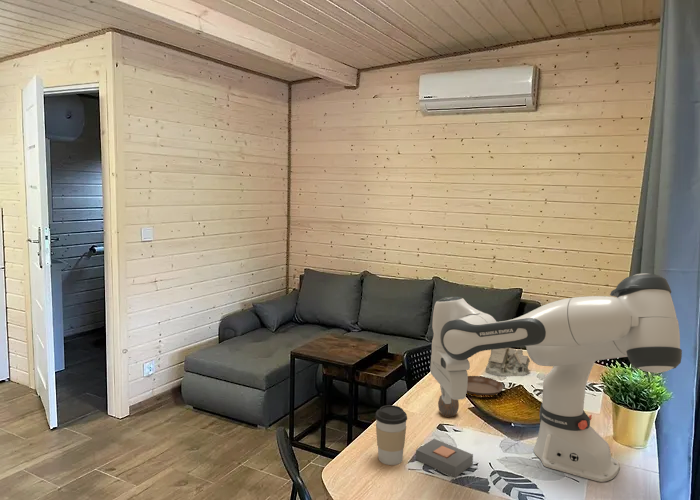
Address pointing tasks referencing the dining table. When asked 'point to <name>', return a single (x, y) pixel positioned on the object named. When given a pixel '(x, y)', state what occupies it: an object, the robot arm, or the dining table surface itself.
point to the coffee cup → (390, 434)
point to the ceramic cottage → (507, 363)
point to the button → (444, 452)
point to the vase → (448, 407)
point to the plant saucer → (483, 386)
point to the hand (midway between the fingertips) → (446, 401)
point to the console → (446, 465)
